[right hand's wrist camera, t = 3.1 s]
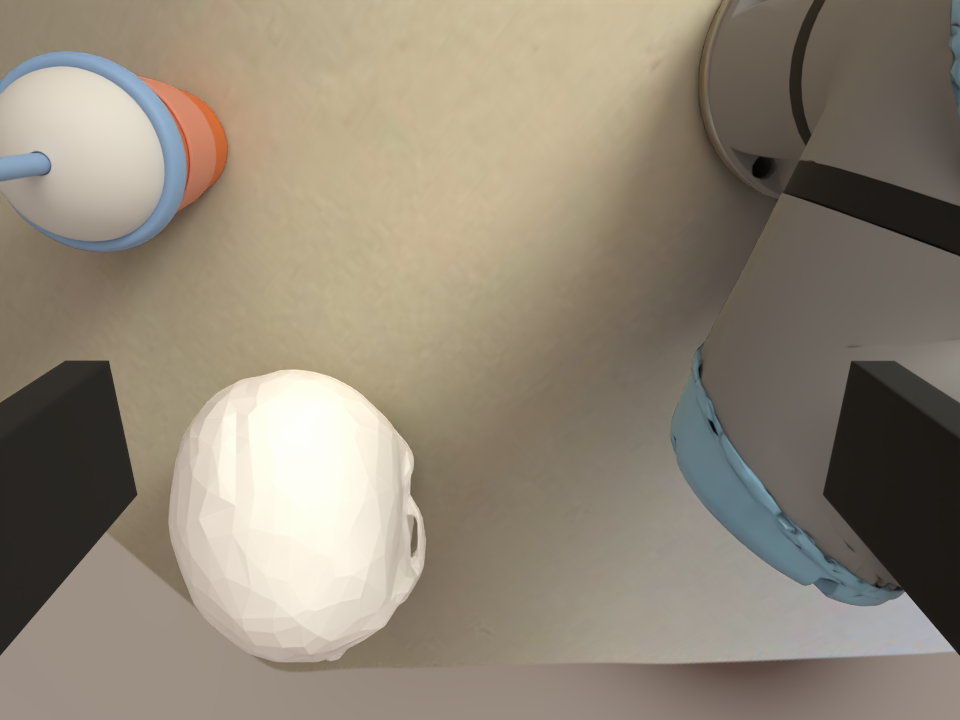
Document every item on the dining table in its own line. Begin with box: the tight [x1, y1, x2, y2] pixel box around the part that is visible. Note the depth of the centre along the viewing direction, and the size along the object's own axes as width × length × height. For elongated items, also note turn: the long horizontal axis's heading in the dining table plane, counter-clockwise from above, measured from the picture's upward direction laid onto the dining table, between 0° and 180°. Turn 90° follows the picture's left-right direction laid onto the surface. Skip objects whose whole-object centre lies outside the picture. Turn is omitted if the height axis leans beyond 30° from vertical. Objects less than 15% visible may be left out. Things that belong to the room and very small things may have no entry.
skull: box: [168, 370, 426, 662], centre depth 43 cm, size 13×22×16 cm, turn 18°
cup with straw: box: [0, 51, 227, 252], centre depth 33 cm, size 9×9×18 cm
